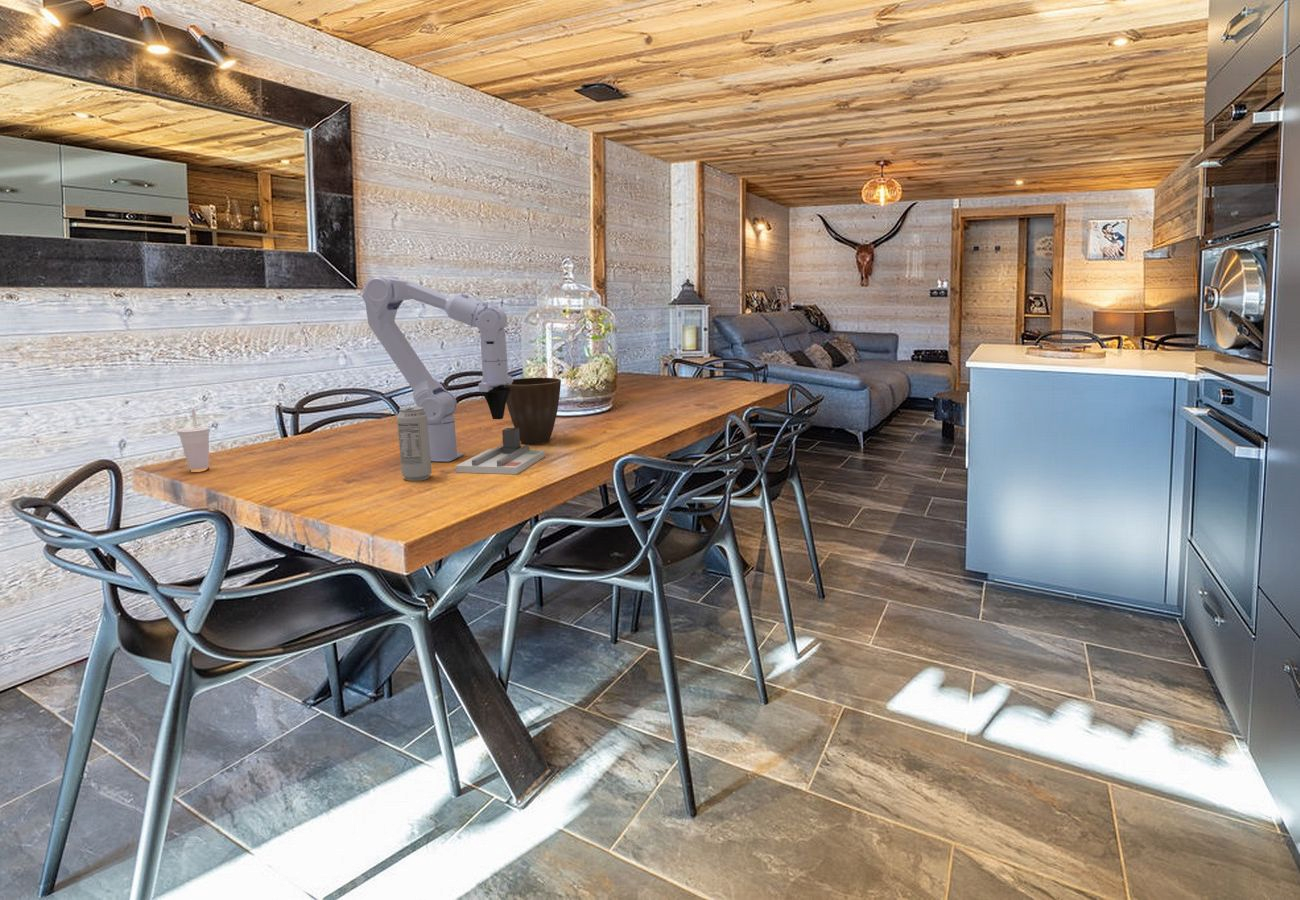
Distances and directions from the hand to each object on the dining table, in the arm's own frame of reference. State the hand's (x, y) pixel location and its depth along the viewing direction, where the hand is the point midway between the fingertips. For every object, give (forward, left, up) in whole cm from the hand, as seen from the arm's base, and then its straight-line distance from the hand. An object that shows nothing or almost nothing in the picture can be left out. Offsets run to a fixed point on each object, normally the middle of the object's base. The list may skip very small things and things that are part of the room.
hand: (497, 418), depth 178 cm
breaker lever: (+3, 0, -8) cm, 8 cm away
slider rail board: (+3, -6, -9) cm, 12 cm away
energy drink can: (-10, -21, -10) cm, 25 cm away
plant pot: (+1, +20, -10) cm, 22 cm away
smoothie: (-64, -21, -10) cm, 68 cm away
